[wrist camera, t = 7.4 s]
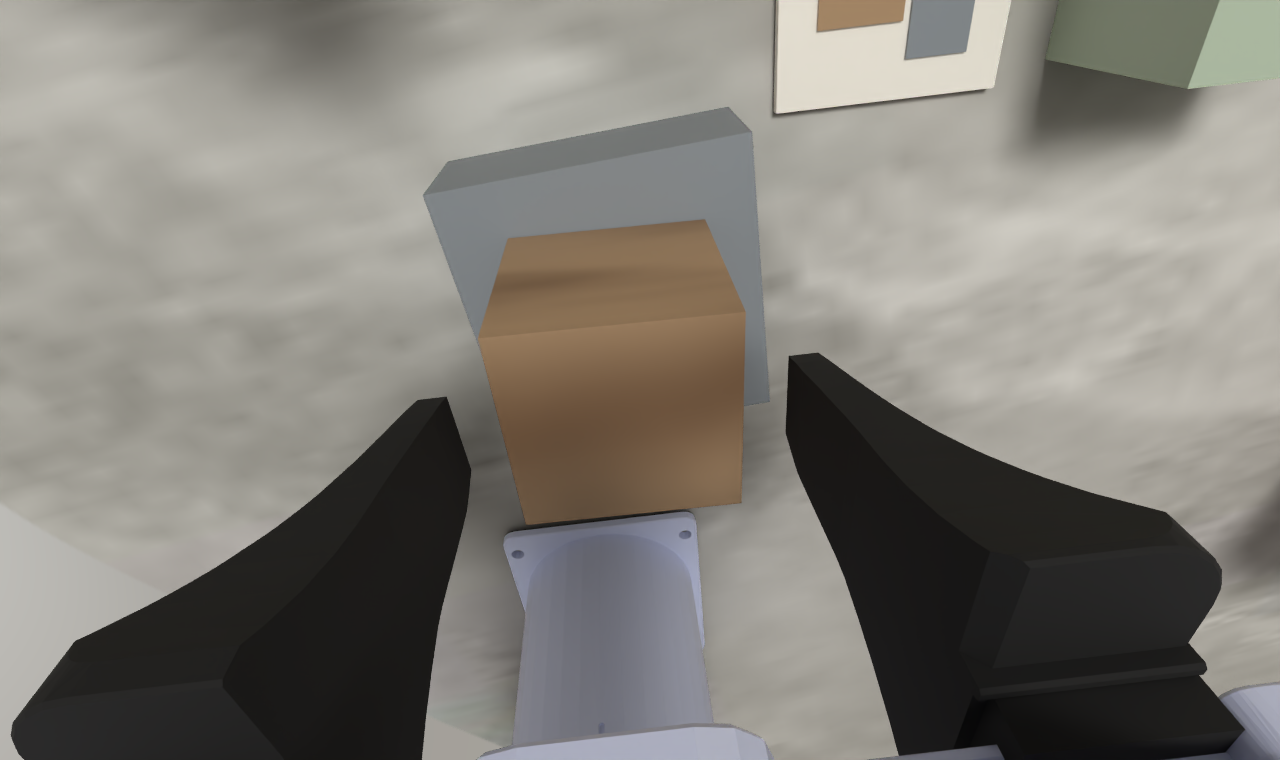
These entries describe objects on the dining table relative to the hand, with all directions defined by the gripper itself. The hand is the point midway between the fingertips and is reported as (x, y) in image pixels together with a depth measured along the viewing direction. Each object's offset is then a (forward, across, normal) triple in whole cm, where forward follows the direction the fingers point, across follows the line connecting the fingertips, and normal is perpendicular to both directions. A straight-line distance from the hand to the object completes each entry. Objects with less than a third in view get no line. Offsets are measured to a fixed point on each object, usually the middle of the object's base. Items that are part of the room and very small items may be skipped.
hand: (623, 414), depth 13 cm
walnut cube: (+5, 0, 0) cm, 5 cm away
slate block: (+8, 0, 0) cm, 8 cm away
